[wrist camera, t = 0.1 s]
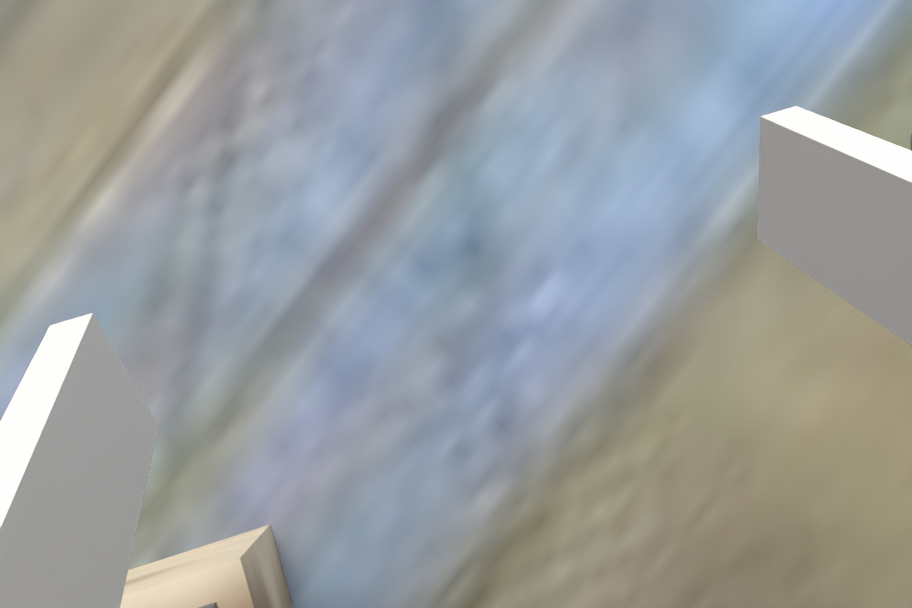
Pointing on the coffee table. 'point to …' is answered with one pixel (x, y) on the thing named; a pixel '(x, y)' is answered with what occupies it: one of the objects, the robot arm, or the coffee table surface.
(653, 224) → the coffee table surface
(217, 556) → the birch block
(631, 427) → the coffee table surface
